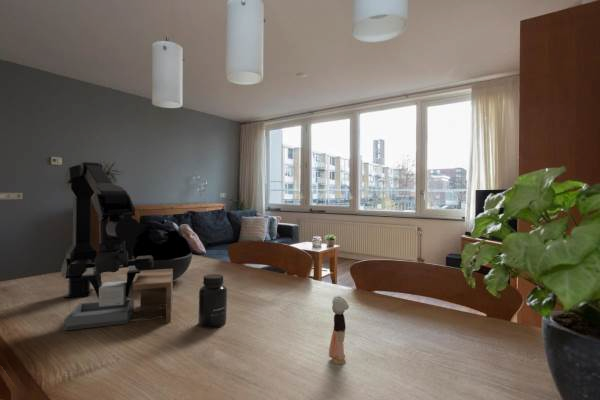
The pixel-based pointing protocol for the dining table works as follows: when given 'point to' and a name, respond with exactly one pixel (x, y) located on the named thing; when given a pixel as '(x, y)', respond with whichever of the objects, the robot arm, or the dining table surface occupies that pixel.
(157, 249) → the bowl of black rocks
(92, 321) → the tray
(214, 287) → the supplement bottle
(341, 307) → the grandmother figurine
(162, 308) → the rails
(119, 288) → the small box
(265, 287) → the dining table surface
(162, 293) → the shelf
